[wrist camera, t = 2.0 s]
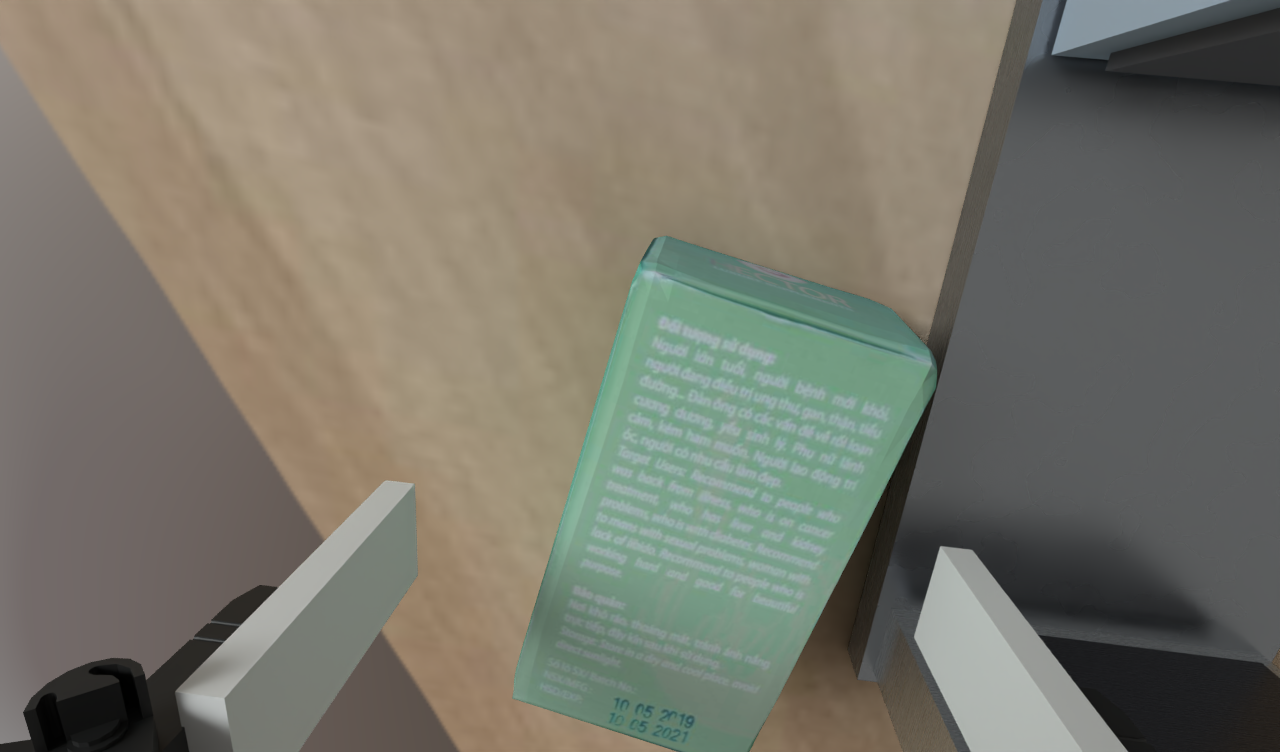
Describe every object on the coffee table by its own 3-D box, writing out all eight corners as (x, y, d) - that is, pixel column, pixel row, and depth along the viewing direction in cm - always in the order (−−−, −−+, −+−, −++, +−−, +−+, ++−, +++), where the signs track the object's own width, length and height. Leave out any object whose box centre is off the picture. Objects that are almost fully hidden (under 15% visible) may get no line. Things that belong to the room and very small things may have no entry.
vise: (1049, -126, 16) (1417, -424, 8) (1613, -85, 15) (2631, -361, 7) (847, 649, 25) (924, 884, 17) (1201, 695, 24) (1460, 960, 16)
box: (868, 289, 20) (963, 357, 13) (731, 604, 24) (746, 781, 17) (655, 222, 20) (634, 254, 13) (558, 551, 24) (502, 708, 17)
